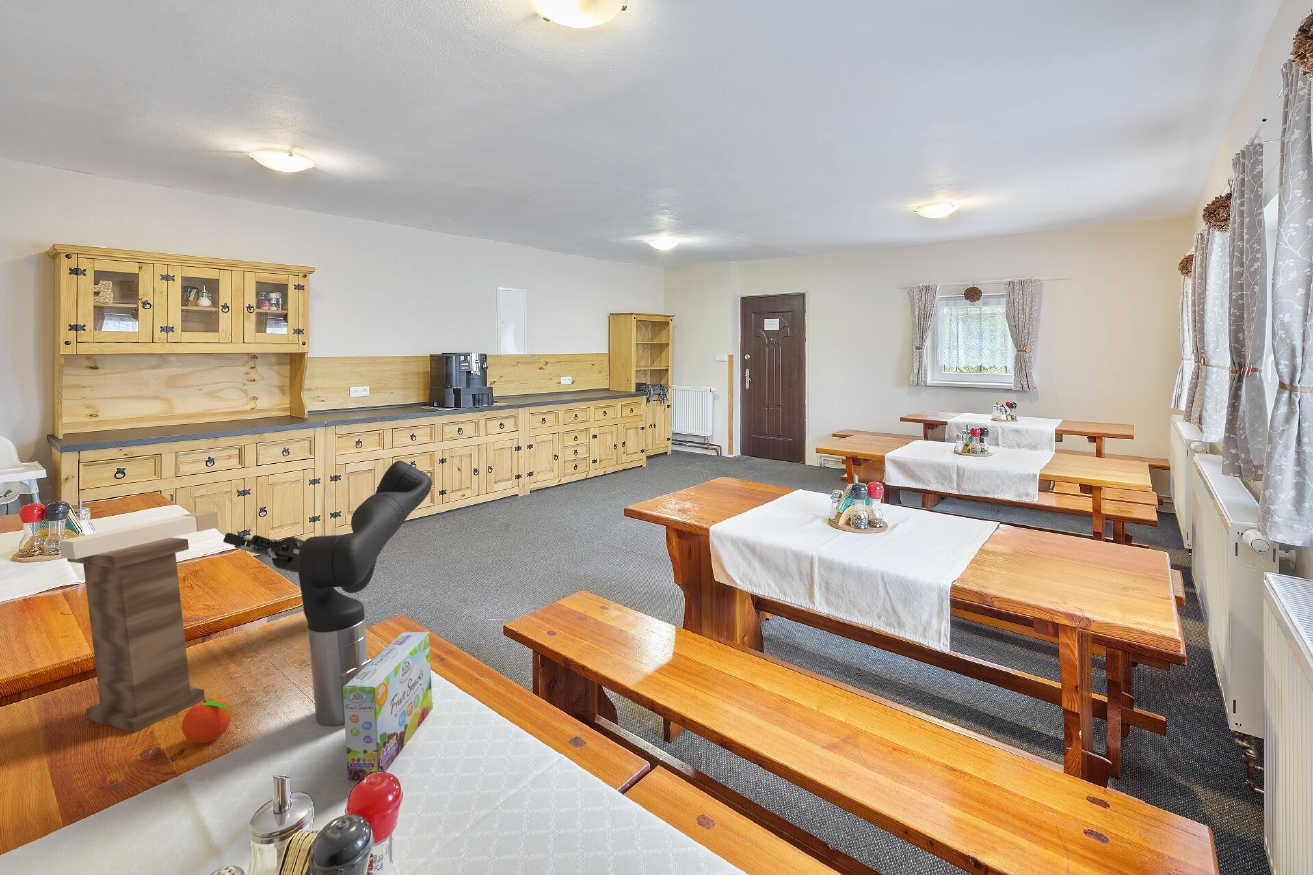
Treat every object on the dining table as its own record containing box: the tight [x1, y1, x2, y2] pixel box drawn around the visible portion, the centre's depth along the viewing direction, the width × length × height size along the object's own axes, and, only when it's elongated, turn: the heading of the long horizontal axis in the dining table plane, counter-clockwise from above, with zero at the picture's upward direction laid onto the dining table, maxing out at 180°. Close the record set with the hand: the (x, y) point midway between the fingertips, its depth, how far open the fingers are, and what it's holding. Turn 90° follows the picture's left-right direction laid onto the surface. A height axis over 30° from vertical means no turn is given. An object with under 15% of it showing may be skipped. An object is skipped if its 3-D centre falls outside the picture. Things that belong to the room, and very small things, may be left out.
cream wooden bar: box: [59, 510, 219, 559], centre depth 117 cm, size 4×24×3 cm, turn 159°
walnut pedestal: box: [66, 537, 206, 733], centre depth 116 cm, size 14×12×32 cm
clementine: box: [181, 698, 233, 744], centre depth 106 cm, size 8×7×7 cm
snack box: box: [343, 631, 434, 781], centre depth 104 cm, size 21×6×15 cm, turn 179°
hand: (239, 538), depth 134 cm, fingers open, 8 cm apart
